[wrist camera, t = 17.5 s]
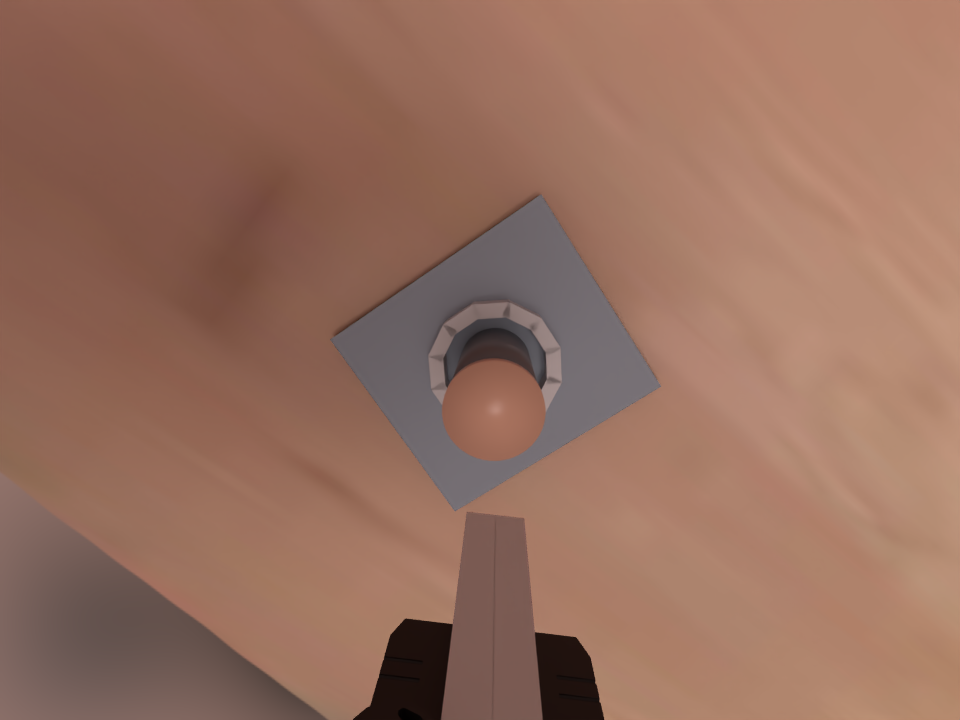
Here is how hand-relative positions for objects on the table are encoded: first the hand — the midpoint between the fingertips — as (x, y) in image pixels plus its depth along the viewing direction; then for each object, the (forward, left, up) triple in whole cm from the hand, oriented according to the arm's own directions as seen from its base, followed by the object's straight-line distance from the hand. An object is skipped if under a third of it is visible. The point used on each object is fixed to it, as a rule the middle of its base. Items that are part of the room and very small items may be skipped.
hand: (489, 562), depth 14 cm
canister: (0, 0, -25) cm, 25 cm away
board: (0, 0, -26) cm, 26 cm away
